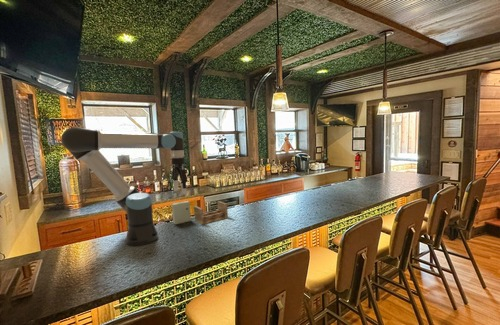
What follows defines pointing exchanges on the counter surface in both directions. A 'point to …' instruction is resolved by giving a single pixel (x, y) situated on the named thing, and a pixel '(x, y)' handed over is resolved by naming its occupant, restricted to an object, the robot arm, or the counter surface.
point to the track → (211, 214)
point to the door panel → (181, 212)
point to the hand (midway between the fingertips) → (180, 192)
